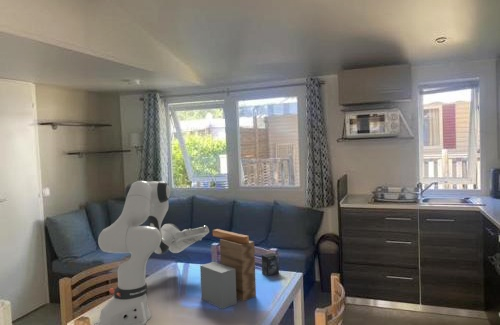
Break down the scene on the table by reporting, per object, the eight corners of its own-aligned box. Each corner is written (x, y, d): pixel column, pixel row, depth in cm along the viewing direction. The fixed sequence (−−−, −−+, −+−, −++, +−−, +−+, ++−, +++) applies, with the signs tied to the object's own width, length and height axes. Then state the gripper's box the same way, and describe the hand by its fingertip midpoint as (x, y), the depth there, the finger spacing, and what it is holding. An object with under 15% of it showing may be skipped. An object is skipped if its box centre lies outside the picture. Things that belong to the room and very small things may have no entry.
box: (267, 276, 212) (267, 257, 211) (261, 273, 216) (261, 254, 216) (279, 273, 216) (278, 254, 216) (273, 270, 221) (272, 252, 220)
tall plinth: (243, 301, 179) (241, 245, 178) (221, 292, 191) (219, 239, 190) (255, 296, 184) (254, 241, 183) (234, 287, 196) (232, 236, 195)
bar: (244, 243, 180) (243, 237, 180) (212, 235, 198) (212, 230, 198) (248, 242, 182) (248, 236, 182) (217, 234, 200) (217, 229, 200)
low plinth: (222, 308, 171) (221, 272, 170) (201, 299, 183) (200, 265, 182) (236, 303, 176) (235, 268, 175) (215, 294, 188) (213, 261, 187)
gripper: (168, 235, 210) (179, 226, 201) (199, 229, 224) (211, 220, 215) (171, 246, 208) (183, 237, 199) (203, 239, 222) (215, 230, 213)
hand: (198, 228), depth 207 cm, fingers open, 8 cm apart
